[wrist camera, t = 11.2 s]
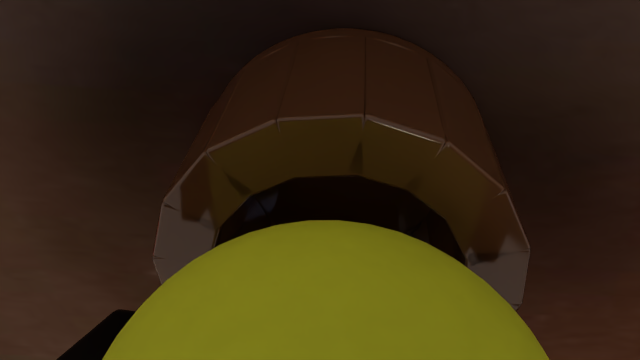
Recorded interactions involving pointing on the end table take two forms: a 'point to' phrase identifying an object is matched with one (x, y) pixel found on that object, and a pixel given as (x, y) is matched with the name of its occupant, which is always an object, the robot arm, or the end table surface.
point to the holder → (347, 157)
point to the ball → (325, 302)
